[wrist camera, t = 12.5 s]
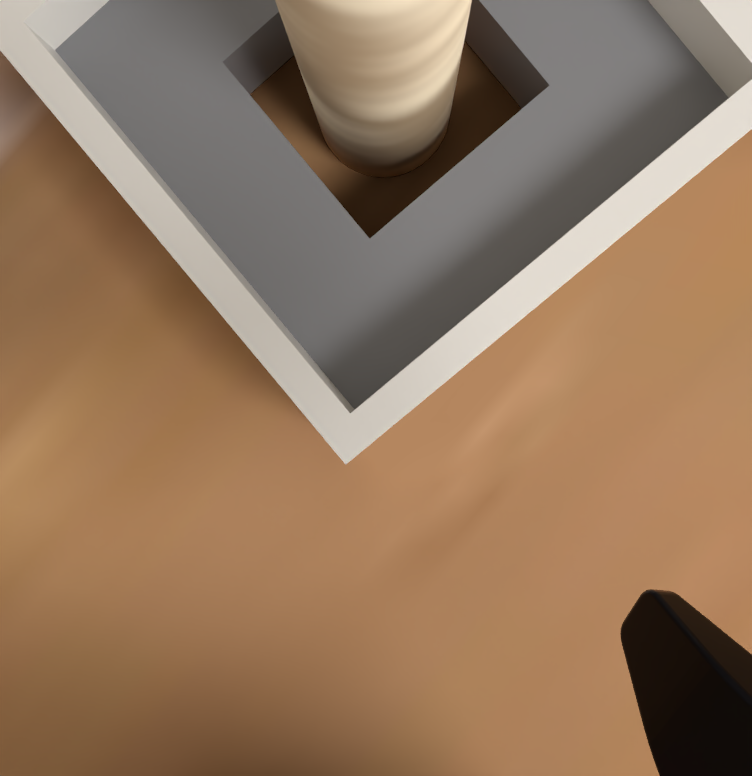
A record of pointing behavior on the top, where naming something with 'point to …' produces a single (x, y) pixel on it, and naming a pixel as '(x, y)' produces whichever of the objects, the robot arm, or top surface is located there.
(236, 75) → the bore box
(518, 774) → the top surface
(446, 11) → the peg
